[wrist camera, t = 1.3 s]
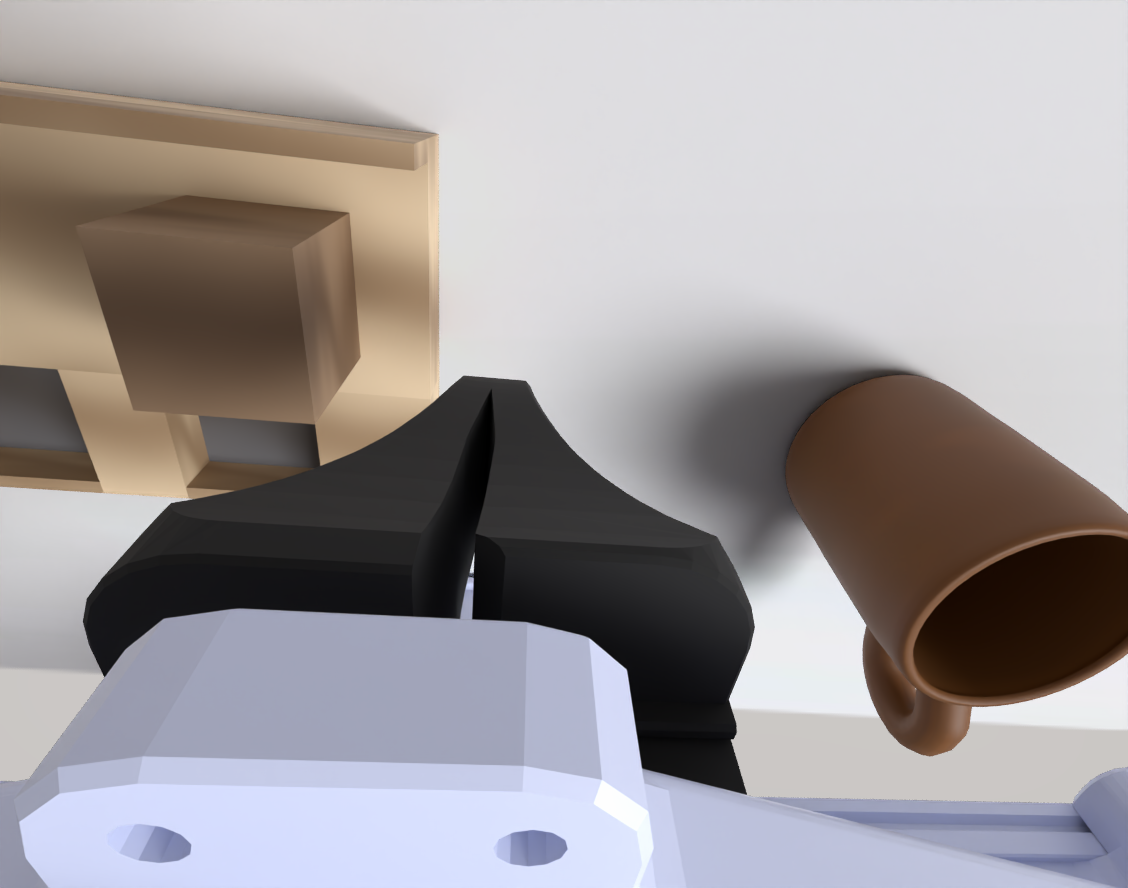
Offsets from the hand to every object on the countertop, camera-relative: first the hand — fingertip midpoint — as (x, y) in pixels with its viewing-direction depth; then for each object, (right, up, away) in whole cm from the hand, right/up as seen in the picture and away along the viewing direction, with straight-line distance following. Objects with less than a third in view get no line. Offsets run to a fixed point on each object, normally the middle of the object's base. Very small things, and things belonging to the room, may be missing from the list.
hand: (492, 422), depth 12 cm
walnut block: (-7, +4, +6) cm, 10 cm away
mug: (+14, -2, +14) cm, 20 cm away
